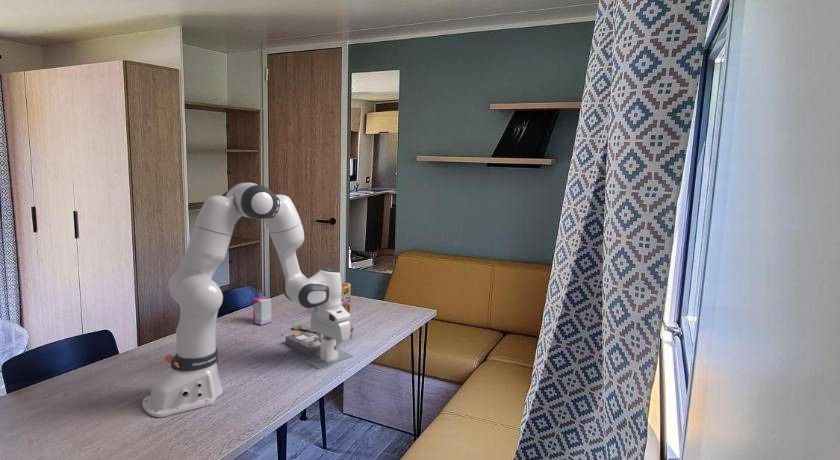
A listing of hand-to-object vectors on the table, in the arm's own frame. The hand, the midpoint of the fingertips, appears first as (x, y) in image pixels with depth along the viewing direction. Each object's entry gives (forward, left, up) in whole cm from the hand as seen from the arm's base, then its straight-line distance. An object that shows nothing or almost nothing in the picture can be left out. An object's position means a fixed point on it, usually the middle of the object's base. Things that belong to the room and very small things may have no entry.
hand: (329, 346), depth 181 cm
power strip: (0, +15, -5) cm, 16 cm away
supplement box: (+1, +52, -5) cm, 52 cm away
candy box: (+34, +38, -5) cm, 51 cm away
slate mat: (0, 0, -5) cm, 5 cm away
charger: (0, 0, -5) cm, 5 cm away
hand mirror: (+13, +24, -6) cm, 28 cm away
